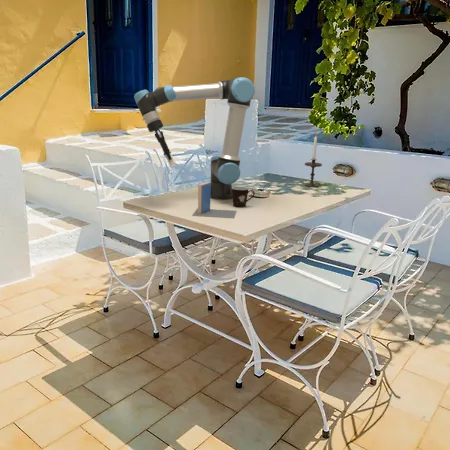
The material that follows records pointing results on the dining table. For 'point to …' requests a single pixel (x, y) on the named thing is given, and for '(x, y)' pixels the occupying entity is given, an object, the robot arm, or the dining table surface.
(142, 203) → the dining table surface
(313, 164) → the candlestick
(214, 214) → the mat
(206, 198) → the tile
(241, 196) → the coffee mug
